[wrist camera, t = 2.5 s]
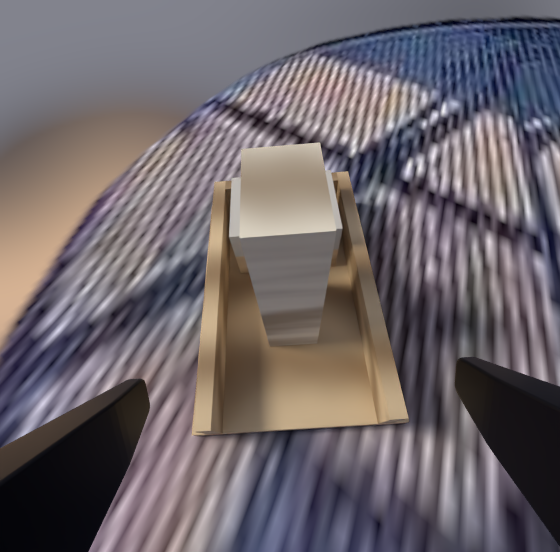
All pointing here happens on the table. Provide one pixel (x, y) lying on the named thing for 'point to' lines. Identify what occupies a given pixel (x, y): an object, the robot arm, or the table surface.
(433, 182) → the table surface
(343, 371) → the tray
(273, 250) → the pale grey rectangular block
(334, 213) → the offcut top
